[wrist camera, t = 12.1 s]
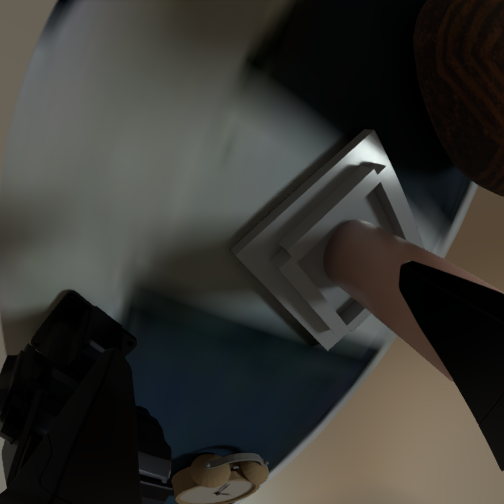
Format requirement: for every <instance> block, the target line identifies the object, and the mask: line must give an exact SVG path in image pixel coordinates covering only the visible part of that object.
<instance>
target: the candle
mask: <svg viewBox="0 0 504 504" xmlns="http://www.w3.org/2000/svg"><path fill="white" fill-rule="evenodd" d="M408 261H416V262H419V263H421V264H424V265H427V266H430V267H433V268H436V269H439V270H442V271H444V272H447V273H450V274H453V275H456V276H458V277H461V278H464V279H467V280H469V281H472V282H475V283H477V284H480V285H483V286H486V287H488V288H491V289H493V290H496V291H499V292H501V293H503V292H502V291H500V290H498V289H496V288H495V287H493V286H491V285H490V284H488V283H486V282H484V281H483V280H481V279H479V278H477V277H476V276H474V275H472V274H470V273H468V272H466V271H465V270H463V269H461V268H459V267H457V266H455V265H454V264H451V263H450V262H448V261H446V260H444V259H442V258H440V257H438V256H437V255H435V254H433V253H431V252H429V251H427V250H425V249H423V248H421V247H419V246H417V245H415V244H413V243H411V242H409V241H407V240H405V239H403V238H401V237H399V236H396V235H394V234H392V233H390V232H388V231H386V230H384V229H382V228H380V227H377V226H375V225H373V224H371V223H369V222H367V221H364V220H352V221H349V222H347V223H345V224H343V225H342V226H340V227H339V228H338V229H337V230H336V231H335V232H334V233H333V235H332V236H331V238H330V239H329V241H328V243H327V245H326V248H325V252H324V257H323V265H324V270H325V273H326V275H327V277H328V278H329V279H330V280H331V281H332V282H334V283H335V284H336V285H337V286H339V287H340V288H341V289H342V290H343V291H345V292H346V293H347V294H348V295H350V296H351V297H352V298H353V299H355V300H356V301H357V302H358V303H359V304H361V305H362V306H363V307H364V308H366V309H367V310H368V311H369V312H370V313H372V314H373V315H374V316H375V317H376V318H378V319H379V320H380V321H381V322H382V323H384V324H385V325H386V326H387V327H388V328H390V329H391V330H392V331H393V332H394V333H396V334H397V335H398V336H399V337H400V338H402V339H403V340H404V341H405V342H406V343H408V344H409V345H410V346H411V347H412V348H414V349H415V350H416V351H417V352H418V353H419V354H420V355H422V356H423V357H424V358H425V359H426V360H427V361H429V362H430V363H431V364H432V365H433V366H434V367H436V368H437V369H438V370H439V371H440V372H442V373H443V374H444V375H445V376H446V377H447V378H448V379H450V380H451V381H453V379H452V377H451V376H450V374H449V372H448V371H447V369H446V368H445V366H444V364H443V363H442V361H441V360H440V358H439V356H438V355H437V353H436V352H435V350H434V349H433V347H432V345H431V344H430V342H429V341H428V339H427V338H426V336H425V335H424V333H423V332H422V330H421V329H420V327H419V325H418V323H417V322H416V320H415V318H414V316H413V314H412V312H411V310H410V309H409V307H408V305H407V303H406V301H405V299H404V298H403V296H402V294H401V292H400V290H399V274H400V267H401V265H402V264H403V263H406V262H408ZM503 294H504V293H503Z"/></svg>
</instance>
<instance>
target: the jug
mask: <svg viewBox="0 0 504 504" xmlns="http://www.w3.org/2000/svg"><path fill="white" fill-rule="evenodd" d="M413 47H414V55H415V62H416V70H417V77H418V82H419V87H420V90H421V94H422V97H423V100H424V103H425V105H426V108H427V111H428V114H429V116H430V119H431V122H432V124H433V126H434V129H435V131H436V134H437V136H438V138H439V140H440V142H441V144H442V146H443V148H444V149H445V151H446V153H447V154H448V156H449V157H450V159H451V161H452V162H453V164H454V165H455V166H456V167H457V168H458V169H459V170H460V171H461V172H462V173H463V174H464V175H465V176H467V177H468V178H469V179H470V180H472V181H473V182H475V183H476V184H478V185H479V186H481V187H483V188H485V189H487V190H489V191H491V192H493V193H495V194H498V195H500V196H504V0H427V1H426V3H425V4H424V5H423V7H422V8H421V10H420V12H419V14H418V17H417V20H416V25H415V29H414V35H413Z"/></svg>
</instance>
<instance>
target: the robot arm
mask: <svg viewBox="0 0 504 504" xmlns="http://www.w3.org/2000/svg"><path fill="white" fill-rule="evenodd" d="M399 290H400V292H401V294H402V296H403V298H404V299H405V301H406V303H407V305H408V307H409V309H410V310H411V312H412V314H413V316H414V318H415V320H416V322H417V323H418V325H419V327H420V329H421V330H422V332H423V333H424V335H425V336H426V338H427V339H428V341H429V342H430V344H431V345H432V347H433V349H434V350H435V352H436V353H437V355H438V356H439V358H440V360H441V361H442V363H443V364H444V366H445V368H446V369H447V371H448V372H449V374H450V376H451V377H452V379H453V381H454V382H455V384H456V386H457V387H458V389H459V391H460V393H461V394H462V396H463V398H464V399H465V401H466V403H467V405H468V407H469V408H470V410H471V412H472V414H473V416H474V417H475V419H476V421H477V423H478V424H479V427H480V429H481V431H482V433H483V435H484V437H485V439H486V441H487V443H488V445H489V446H490V449H491V451H492V453H493V455H494V457H495V459H496V461H497V463H498V465H499V467H500V469H501V471H503V470H504V294H503V293H501V292H499V291H496V290H493V289H491V288H488V287H486V286H483V285H480V284H477V283H475V282H472V281H469V280H467V279H464V278H461V277H458V276H456V275H453V274H450V273H447V272H444V271H442V270H439V269H436V268H433V267H430V266H427V265H424V264H421V263H419V262H416V261H408V262H406V263H403V264H402V265H401V267H400V274H399ZM70 296H73V297H74V298H75V300H72V299H71V298H70ZM35 341H37V342H38V343H36V342H35ZM128 341H132V343H128ZM31 344H32V346H31V345H30V344H29V343H28V344H27V346H26V347H25V349H24V351H23V350H21V351H20V353H19V355H8V356H7V358H6V360H5V363H4V365H3V368H2V370H1V373H0V437H2V438H3V439H5V441H4V446H3V449H2V460H3V467H4V474H5V480H6V485H7V489H6V490H5V491H3V492H2V493H1V494H0V504H164V502H165V500H166V499H167V498H168V496H169V495H170V493H171V492H172V490H173V486H172V485H170V484H166V483H167V481H168V479H169V476H170V473H171V468H172V451H171V448H170V446H169V445H168V444H167V443H166V441H165V439H164V435H163V430H162V428H161V426H160V424H159V423H158V421H157V419H155V418H154V417H152V416H151V415H150V414H149V412H148V410H147V409H145V408H143V407H141V406H138V407H137V406H135V398H134V389H133V380H132V370H131V367H130V365H129V363H128V362H127V360H126V359H125V358H124V357H125V356H126V355H127V354H129V353H130V352H131V351H132V350H133V349H134V348H135V347H136V345H137V340H136V338H135V337H134V336H133V335H131V334H130V333H128V332H127V331H126V330H124V329H123V328H122V325H120V324H119V323H118V322H116V321H115V320H114V319H112V318H111V317H110V316H108V315H107V314H106V313H105V312H103V311H102V310H101V309H100V308H98V307H97V306H93V305H92V304H91V303H89V302H88V301H87V300H86V299H84V298H83V297H82V296H81V295H80V294H78V293H77V292H76V291H73V290H71V291H69V292H68V293H67V294H66V295H65V296H64V297H63V299H62V300H61V301H60V302H59V304H58V305H57V306H56V307H55V309H54V310H53V311H52V312H51V314H50V315H49V316H48V317H47V319H46V320H45V321H44V323H43V324H42V325H41V327H40V328H39V329H38V331H37V332H36V333H35V335H34V336H33V338H32V340H31ZM35 349H37V350H38V351H39V352H40V353H39V352H37V351H36V350H35Z"/></svg>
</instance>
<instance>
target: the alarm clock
mask: <svg viewBox="0 0 504 504" xmlns="http://www.w3.org/2000/svg"><path fill="white" fill-rule="evenodd" d="M267 465H268V461H263V459H262V458H260V456H259V455H257V454H254V453H238V454H232V455H228V456H224V457H221V456H219V455H216V454H204V455H200V456H199V457H197V458H196V459H195V460H194V461H193V462H192V464H191V466H190V467H187V468H185V469H183V470H181V471H179V472H177V473H176V474H175V475H174V476H173V477H172V480H171V482H172V485H173V489H174V494H175V500H176V501H177V503H179V504H228V503H232V502H235V501H238V500H241V499H243V498H245V497H248V496H249V495H251V494H253V493H254V492H256V491H257V490H258V489H259V486H260V484H262V483H263V482H265V481H266V480H267V478H268V474H269V471H268V467H267Z"/></svg>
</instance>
